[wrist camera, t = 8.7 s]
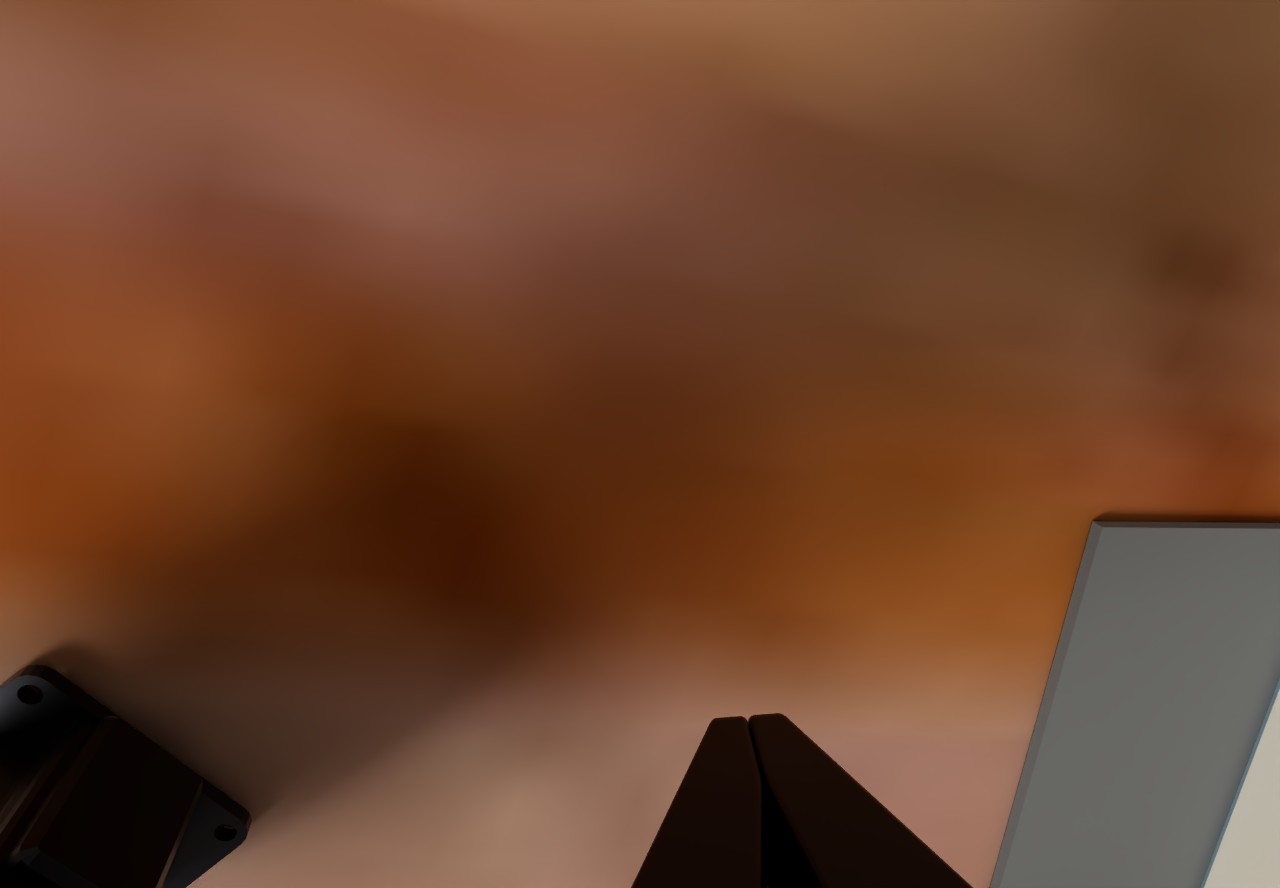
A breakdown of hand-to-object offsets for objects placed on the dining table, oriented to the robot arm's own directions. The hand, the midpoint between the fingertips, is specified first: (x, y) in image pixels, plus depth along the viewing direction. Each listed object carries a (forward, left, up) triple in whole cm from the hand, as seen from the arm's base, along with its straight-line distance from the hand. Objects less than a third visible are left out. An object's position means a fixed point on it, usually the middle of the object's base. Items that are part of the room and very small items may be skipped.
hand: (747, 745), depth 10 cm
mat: (+11, -23, -11) cm, 27 cm away
